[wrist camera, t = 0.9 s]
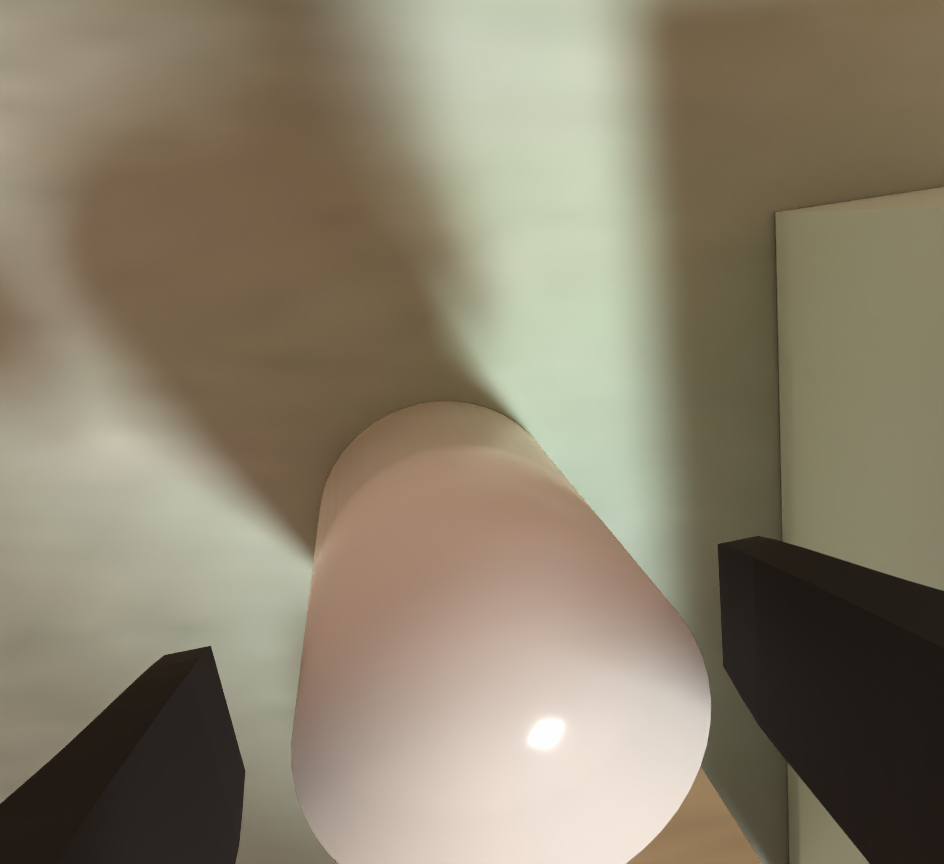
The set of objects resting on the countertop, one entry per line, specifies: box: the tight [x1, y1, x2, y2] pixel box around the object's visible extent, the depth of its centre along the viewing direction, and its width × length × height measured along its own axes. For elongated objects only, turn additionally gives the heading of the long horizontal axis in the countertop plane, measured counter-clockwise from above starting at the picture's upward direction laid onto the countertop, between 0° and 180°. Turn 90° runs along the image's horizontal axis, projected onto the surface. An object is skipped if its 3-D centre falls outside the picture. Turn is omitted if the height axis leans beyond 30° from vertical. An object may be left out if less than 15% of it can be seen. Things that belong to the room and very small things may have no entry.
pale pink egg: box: [291, 401, 711, 864], centre depth 12 cm, size 5×5×7 cm
